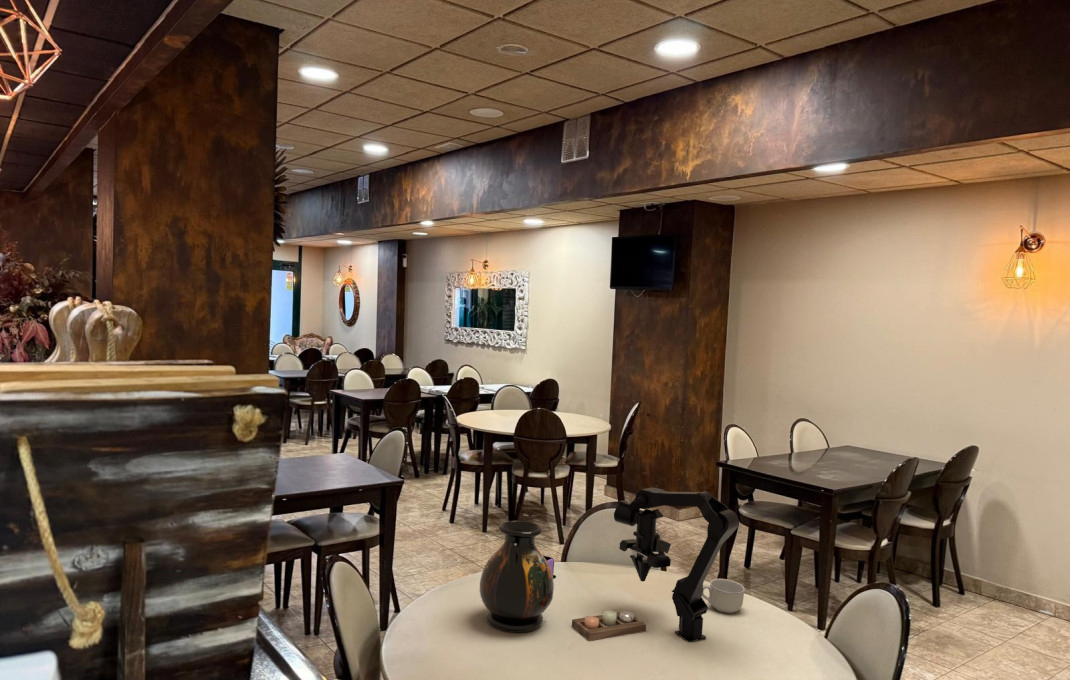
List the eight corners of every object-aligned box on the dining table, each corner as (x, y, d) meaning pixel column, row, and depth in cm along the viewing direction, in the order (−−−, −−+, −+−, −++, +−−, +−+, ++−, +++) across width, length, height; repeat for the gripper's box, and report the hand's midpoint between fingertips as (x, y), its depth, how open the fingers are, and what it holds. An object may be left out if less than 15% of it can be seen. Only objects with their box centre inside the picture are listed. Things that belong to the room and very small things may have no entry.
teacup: (739, 604, 230) (741, 580, 230) (746, 618, 219) (748, 592, 219) (696, 600, 231) (697, 576, 231) (700, 613, 220) (702, 588, 220)
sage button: (618, 625, 203) (619, 615, 203) (607, 627, 202) (607, 616, 202) (611, 620, 207) (611, 609, 207) (599, 621, 205) (600, 611, 205)
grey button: (635, 625, 206) (636, 615, 206) (624, 627, 204) (624, 617, 204) (627, 620, 210) (628, 610, 210) (616, 622, 208) (617, 612, 208)
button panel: (645, 631, 204) (646, 624, 204) (589, 640, 196) (590, 633, 196) (626, 617, 213) (626, 611, 213) (571, 626, 204) (572, 619, 204)
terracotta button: (600, 631, 201) (601, 621, 201) (588, 633, 199) (589, 622, 199) (593, 625, 204) (594, 615, 204) (581, 627, 202) (582, 617, 202)
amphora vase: (544, 643, 192) (550, 541, 192) (468, 631, 196) (474, 531, 196) (557, 613, 213) (563, 521, 213) (488, 603, 218) (494, 512, 217)
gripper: (687, 536, 209) (683, 589, 210) (649, 519, 226) (645, 568, 226) (656, 539, 204) (652, 593, 204) (620, 522, 221) (616, 571, 221)
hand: (642, 581), depth 214 cm, fingers closed
